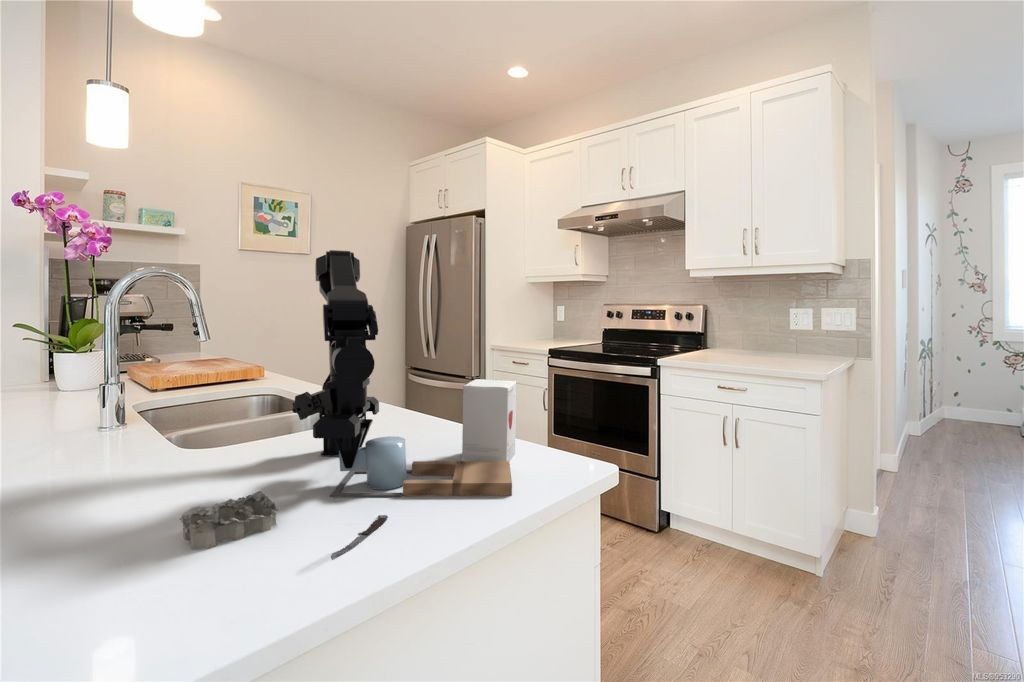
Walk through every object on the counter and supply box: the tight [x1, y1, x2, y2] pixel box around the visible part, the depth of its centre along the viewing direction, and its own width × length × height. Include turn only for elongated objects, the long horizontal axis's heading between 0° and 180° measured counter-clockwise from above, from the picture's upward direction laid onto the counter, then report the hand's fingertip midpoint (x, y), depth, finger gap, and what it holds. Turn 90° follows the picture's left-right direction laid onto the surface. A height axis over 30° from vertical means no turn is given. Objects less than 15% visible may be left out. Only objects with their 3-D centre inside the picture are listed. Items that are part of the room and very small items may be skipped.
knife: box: [330, 514, 389, 561], centre depth 66 cm, size 17×1×3 cm
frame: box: [329, 469, 412, 498], centre depth 87 cm, size 11×12×1 cm
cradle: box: [402, 460, 513, 497], centre depth 87 cm, size 17×11×2 cm, turn 93°
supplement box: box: [461, 378, 517, 462], centre depth 101 cm, size 9×9×15 cm
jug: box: [338, 436, 408, 491], centre depth 86 cm, size 11×6×7 cm, turn 93°
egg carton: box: [179, 490, 281, 550], centre depth 69 cm, size 11×8×4 cm
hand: (350, 466), depth 86 cm, fingers closed on jug
